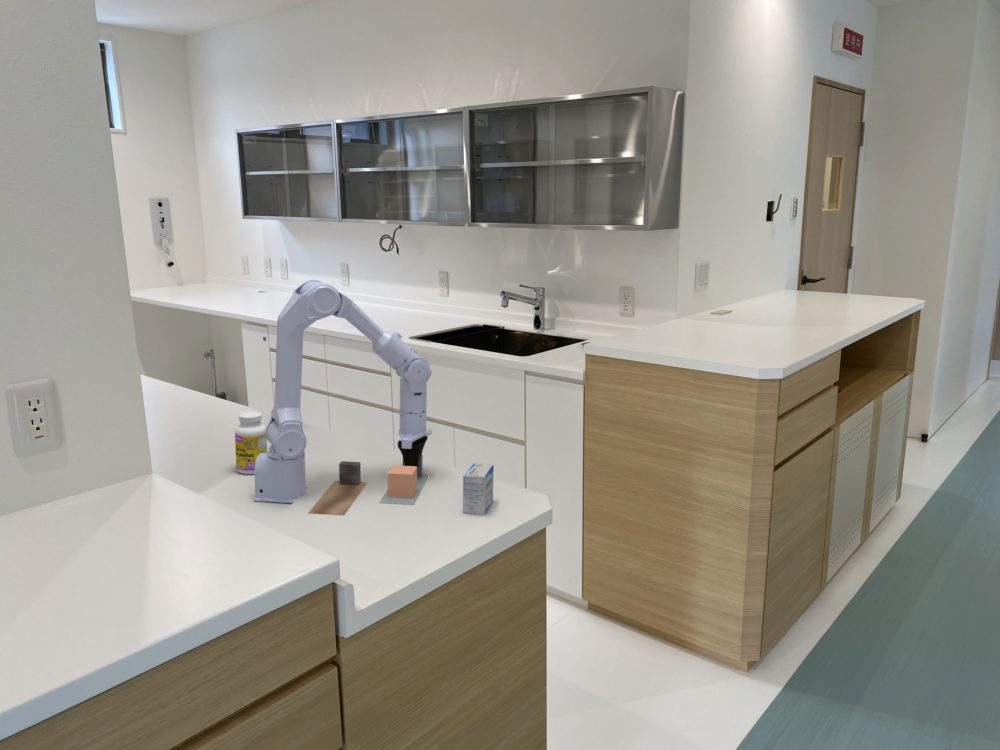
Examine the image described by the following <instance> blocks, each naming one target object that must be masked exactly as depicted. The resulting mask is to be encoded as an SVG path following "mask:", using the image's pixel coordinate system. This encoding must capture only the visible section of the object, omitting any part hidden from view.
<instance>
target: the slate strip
mask: <svg viewBox="0 0 1000 750" xmlns="http://www.w3.org/2000/svg"><path fill="white" fill-rule="evenodd" d="M423 459H424V458H423V454H422V455H420V457H419V463H418V469H417V490H416V492H415V494H414V496H413V498H399V497H388V488H387V489H386V491H385V493H384V494H383V496H382V498H381V499H380V500H379V502H378V503H379V504H385V505H386V504H387V505H401V506H402V505H403V506H415V505H416V502H417V501H418V498H419V496H420V494H421V492H422V490H423V488H424V486H425V484H426V482H427V480H428V479H429V478H428V476H429V477H430V474H427V473H426V474H424V473H423V466H424V465H423ZM402 466H405V464H404V459H403V458H402Z"/></svg>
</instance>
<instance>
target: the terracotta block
mask: <svg viewBox="0 0 1000 750" xmlns="http://www.w3.org/2000/svg"><path fill="white" fill-rule="evenodd" d="M387 489H388V497H399V498H413V496H414V494H415V492H416V490H417V466H403V465H395V464H394V465H392V466H391V468H390V469H389V471H388V473H387Z"/></svg>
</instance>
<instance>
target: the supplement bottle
mask: <svg viewBox="0 0 1000 750" xmlns="http://www.w3.org/2000/svg"><path fill="white" fill-rule="evenodd" d="M238 420H239V423H240V424H239V425H237V426H236V427H235V429H234V442H235V443H234V445H235V446H234V447H235V467H236V468H235V470H236V472H238V473H239V474H243V475H255V474H254V469H255V462H256V459H257V457H258V455H259V454H260V453H267V452H268V439H267V437H266V428H267V426H265V424H263V423H262V420H263V417H262V413H261V412H258V411H247V412H246V411H245V412H242V413H240V414H239V415H238Z"/></svg>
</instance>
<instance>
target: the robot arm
mask: <svg viewBox="0 0 1000 750" xmlns="http://www.w3.org/2000/svg"><path fill="white" fill-rule="evenodd" d="M330 316H333V317H335V318H340V319H344V320H346V321H347V322H348V323H349V324H351V325H352V326H353V327H354V328H355V329H357V331H359V332H360V333H361V334H363V335H364V336H365V338H367V339H369V340H370V341H371V344H372V351H373V352H374V353H375V355H377V356H378V357H379V358H380V359H381V360H382V361H384V362H385V364H387V365H388V366H389V367H391V369H392V370H394V371H395V373H396V375H397V376H398V377H400V378H399V429H398V435H399V437H400V440H398V442H397V448H398V449H399V451H400V453H401V456H402V460H403V459H404V464H405V466H417V469H418V463H419V457H420V455H423V451H424V448H425V445H426V442H427V441H428V440H429V439H428V438H429V437H428V436H431V435H432V433H433V431H432V429H427V407H428V406H427V396H428V395H427V391H428V389H427V385H428V384H427V382H429V379H431V376H432V370H431V368H430V364H429V363H428V361H427V360H425V359H424V358H422V357H421V356H418V355H417V353H418V350H417V349H416V348H414V347H410V346H409V345H408V344H407V343H406V342H405V341H403V339H402V337H403V336H402V334H400V333H399V332H397V331H395V332H394V331H393V330H388V329H387V330H383V329H382V328H380V326H378V324H376V322H375V321H374V320H373V319H372V318H370V317H369V315H367V313H366V312H364V311H363V310H362V309H361V308H360V307H359V306H358V305H357V304H356V303H355V301H354V300H351V298H349V296H346V295H345V294H344V293H343V292H341V291H340V292H339V290H338V289H336V287H334V286H333V285H332V284H328V283H323V282H322V281H320V280H318V279H311V280H310V279H309V280H307V281H305V282H303V283H302V284H300V285H299V286H297V287H296V288H295V289H293V292H292V295H291V297H290V298H289V299H288V301H287V302H286V304H285V305H284V307H283V309H282V310H280V313H279V315H277V320H276V322H277V324H276V347H275V349H276V351H275V372H274V373H275V376H274V379H275V380H274V403H273V407H272V410H271V411H270V419H269V422H268V424H267V426H266V437H267V442H269V443H270V446H269V448H268V449H267V453H260V454H259V455H258V457H257V459H256V462H255V469H254V474H253V475H254V493H255V494H254V496H255V497H254V499H253V501H254V502H263V503H264V502H265V503H266V502H267V503H282V504H283V503H284V504H294V503H295V502H296V500H297V499H298V498H299V497H302V496H303V495H305V493H307V492H306V489H307V488H308V487H306V484H307V483H306V453H305V452H306V447H307V442H308V440H307V436H306V434H305V432H304V429H303V417H302V412H301V401H302V400H301V398H302V375H303V374H302V373H303V352H304V350H303V348H304V332H305V330H306V329H308V328H309V327H310V326H312V325H313V324H314V323H315V322H317V321H319V320H322V319H325V318H328V317H330Z"/></svg>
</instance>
